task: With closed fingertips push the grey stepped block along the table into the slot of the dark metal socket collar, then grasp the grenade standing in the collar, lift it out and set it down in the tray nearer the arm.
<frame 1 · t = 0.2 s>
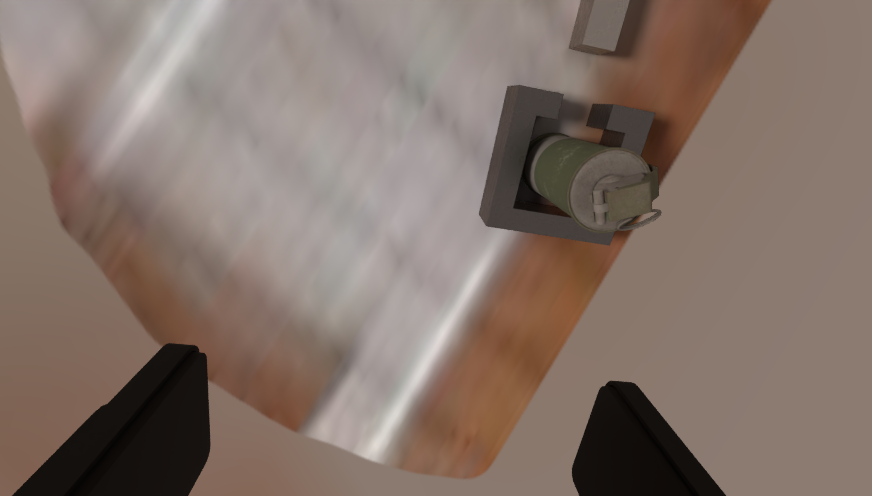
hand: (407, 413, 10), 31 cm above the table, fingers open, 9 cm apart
grenade: (551, 164, 39), resting in socket
socket: (552, 164, 39), on the table
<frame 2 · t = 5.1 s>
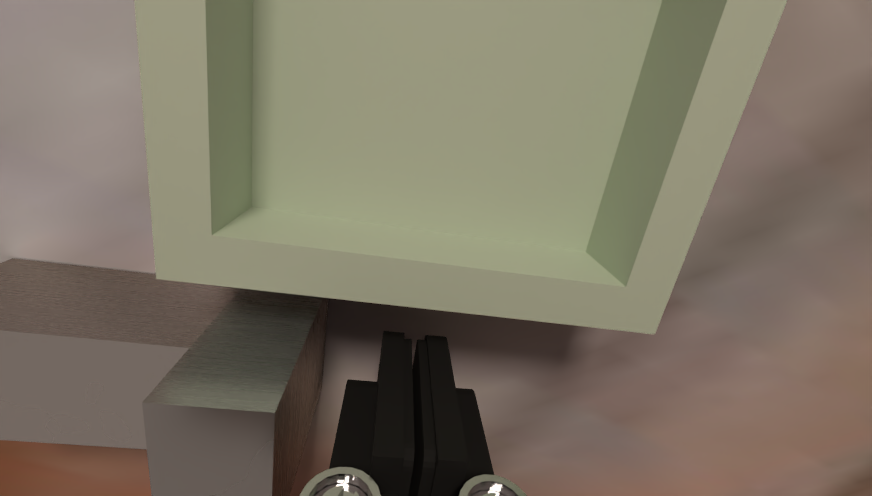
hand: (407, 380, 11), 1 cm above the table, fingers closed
grey stepped block: (121, 380, 9), point 3 cm above the table, slide at 1.3 cm, touching gripper
tray: (450, 51, 9), on the table
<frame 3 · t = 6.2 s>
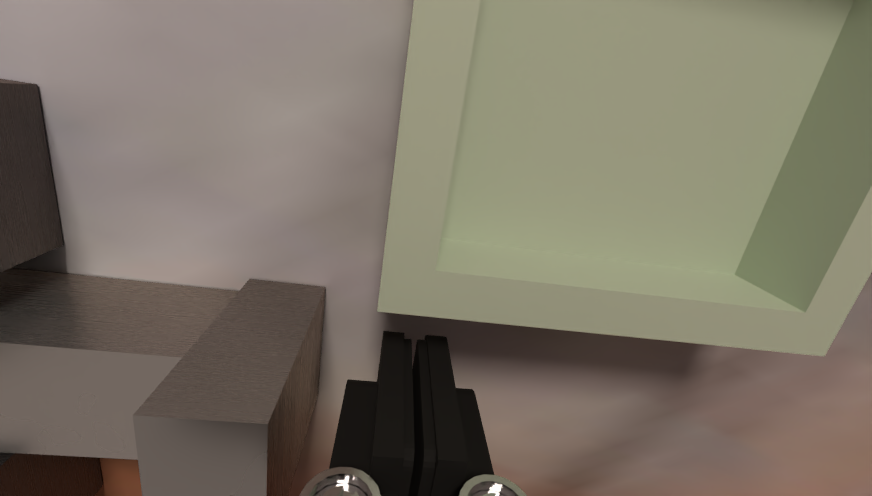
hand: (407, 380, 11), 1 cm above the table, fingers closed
grey stepped block: (114, 390, 9), point 2 cm above the table, slide at 5.5 cm
tray: (614, 85, 10), on the table
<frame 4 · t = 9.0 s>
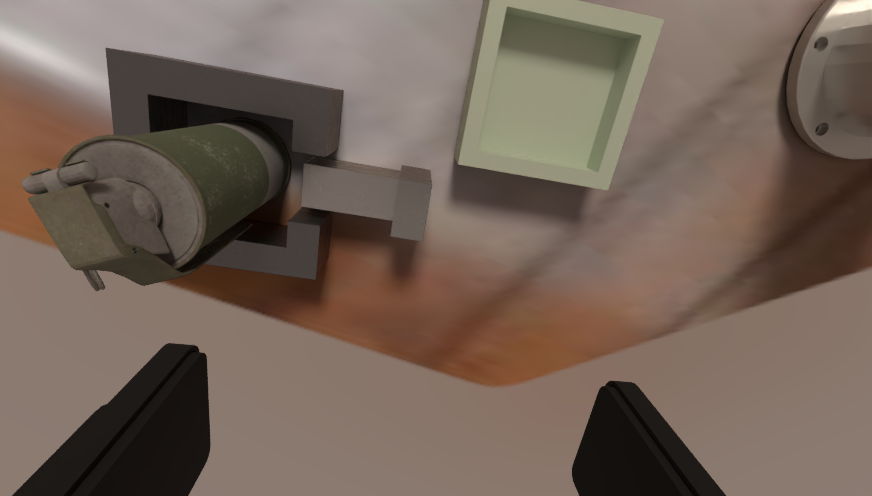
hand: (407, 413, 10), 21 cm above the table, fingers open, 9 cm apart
grey stepped block: (366, 193, 27), point 2 cm above the table, slide at 5.5 cm
grenade: (249, 164, 28), resting in socket
socket: (248, 165, 28), on the table
tray: (540, 95, 27), on the table
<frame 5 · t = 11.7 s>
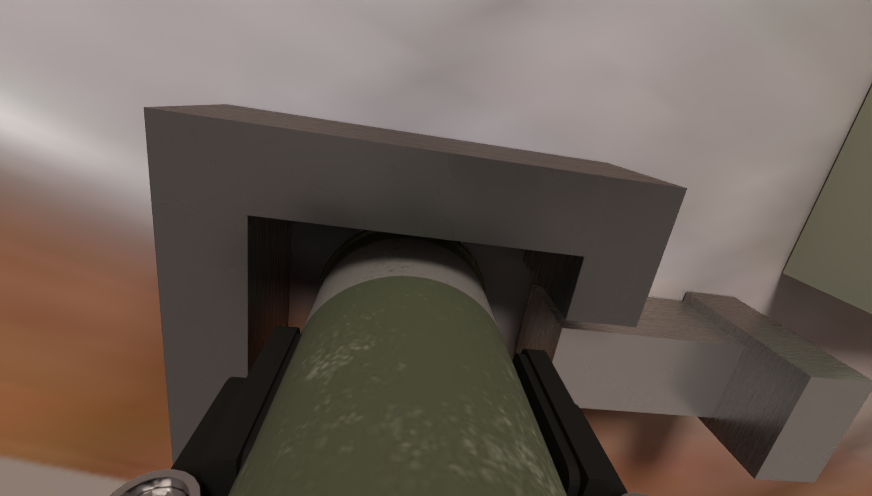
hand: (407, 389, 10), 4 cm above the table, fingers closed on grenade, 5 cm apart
grey stepped block: (661, 368, 13), point 2 cm above the table, slide at 5.5 cm
grenade: (403, 303, 15), resting in socket, touching gripper
socket: (403, 305, 15), on the table
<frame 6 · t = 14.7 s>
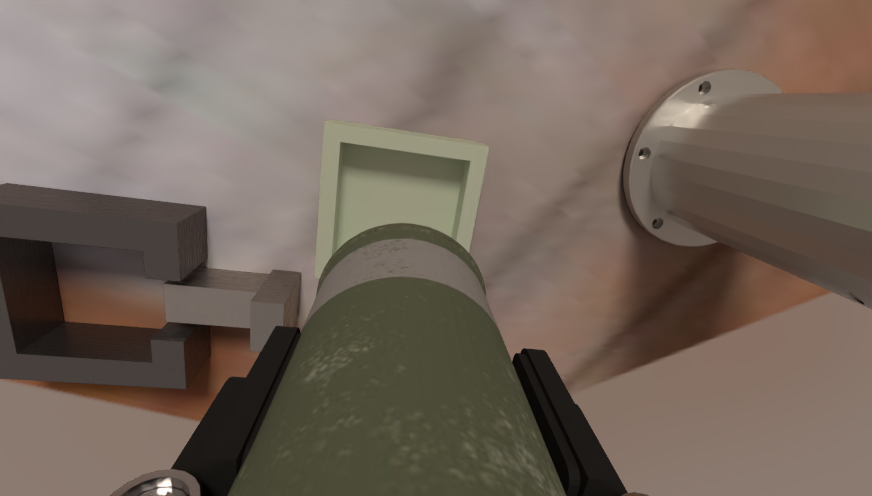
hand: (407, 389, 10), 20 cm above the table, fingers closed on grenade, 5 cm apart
grey stepped block: (231, 305, 28), point 2 cm above the table, slide at 5.5 cm
grenade: (403, 304, 15), point 15 cm above the table, touching gripper
socket: (118, 277, 29), on the table
tray: (398, 202, 29), on the table
when the fingers open (7 cm above the table, at t = 17.8 s): grenade drops 1 cm, resting on tray.
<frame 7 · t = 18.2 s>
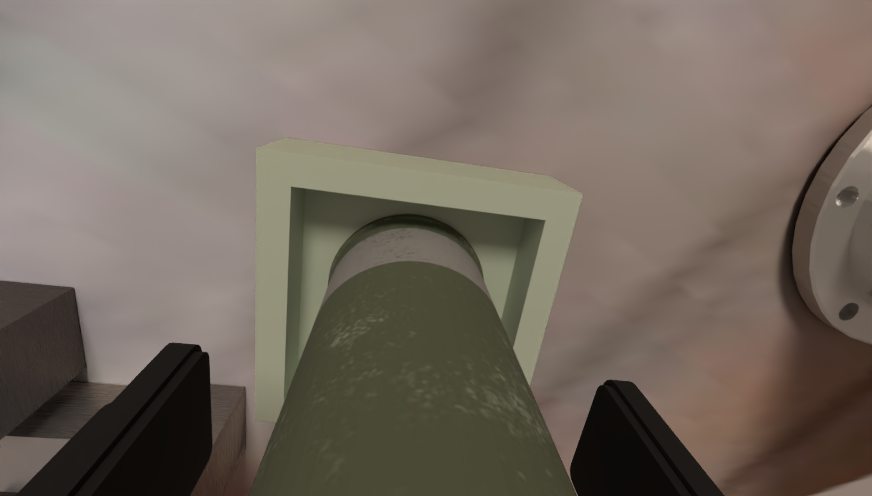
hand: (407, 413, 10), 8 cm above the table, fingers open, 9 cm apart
grey stepped block: (116, 458, 16), point 3 cm above the table, slide at 5.5 cm
grenade: (407, 289, 16), point 1 cm above the table, touching tray
tray: (406, 277, 17), on the table
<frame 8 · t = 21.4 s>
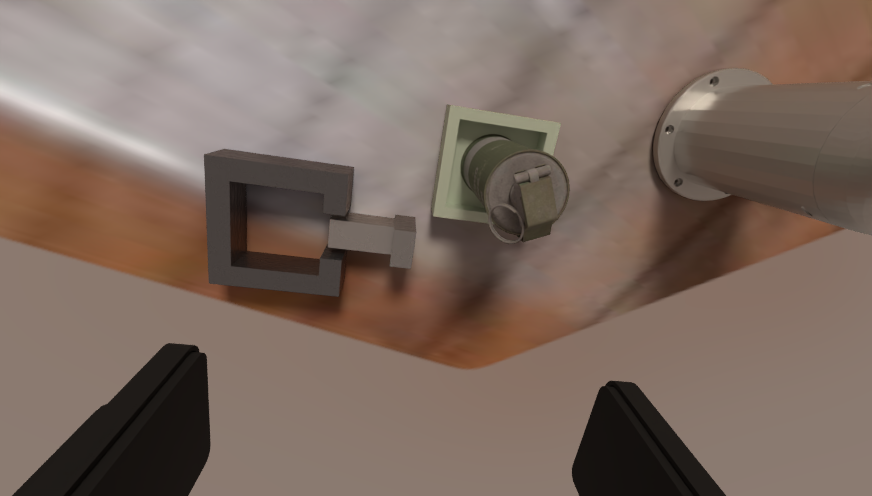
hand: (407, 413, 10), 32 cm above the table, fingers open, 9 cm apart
grey stepped block: (371, 236, 39), point 2 cm above the table, slide at 5.5 cm
grenade: (491, 167, 39), point 1 cm above the table, touching tray
socket: (288, 218, 41), on the table
tray: (488, 165, 40), on the table
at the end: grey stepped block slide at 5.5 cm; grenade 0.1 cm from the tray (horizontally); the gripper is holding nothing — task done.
